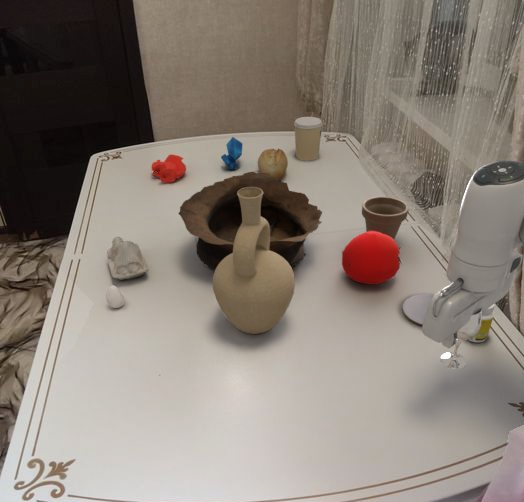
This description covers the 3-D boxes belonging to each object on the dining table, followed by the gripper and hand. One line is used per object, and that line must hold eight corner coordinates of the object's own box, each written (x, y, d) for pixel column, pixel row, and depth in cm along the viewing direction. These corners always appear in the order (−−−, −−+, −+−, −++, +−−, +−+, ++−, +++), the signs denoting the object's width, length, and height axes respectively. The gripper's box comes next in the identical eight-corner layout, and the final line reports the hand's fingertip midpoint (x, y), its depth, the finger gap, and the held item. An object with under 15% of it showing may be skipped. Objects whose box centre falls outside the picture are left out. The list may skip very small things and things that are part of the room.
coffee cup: (326, 158, 187) (328, 122, 179) (303, 163, 184) (304, 127, 176) (310, 149, 193) (312, 114, 186) (288, 155, 190) (288, 119, 182)
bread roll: (285, 165, 183) (285, 141, 178) (289, 184, 172) (289, 159, 167) (257, 166, 183) (256, 142, 178) (259, 185, 171) (258, 160, 166)
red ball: (345, 297, 129) (396, 289, 132) (363, 275, 117) (418, 266, 120) (331, 250, 133) (381, 242, 135) (347, 223, 121) (401, 215, 123)
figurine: (112, 255, 141) (106, 226, 135) (156, 254, 141) (152, 225, 135) (100, 287, 129) (92, 257, 124) (148, 286, 129) (142, 256, 124)
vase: (283, 354, 110) (284, 217, 90) (205, 341, 113) (190, 207, 94) (301, 306, 122) (305, 177, 102) (230, 296, 125) (221, 169, 106)
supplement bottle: (488, 332, 113) (499, 299, 108) (484, 345, 110) (494, 312, 105) (465, 326, 115) (474, 293, 110) (460, 338, 112) (469, 305, 107)
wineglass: (469, 374, 95) (484, 319, 87) (435, 368, 97) (447, 313, 89) (470, 353, 99) (486, 299, 91) (438, 347, 101) (450, 294, 93)
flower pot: (387, 227, 149) (392, 192, 142) (411, 245, 141) (418, 209, 134) (350, 235, 146) (353, 200, 139) (373, 255, 138) (378, 219, 131)
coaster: (452, 296, 123) (453, 294, 123) (463, 329, 114) (464, 327, 114) (399, 295, 124) (399, 293, 124) (405, 327, 115) (406, 325, 115)
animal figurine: (188, 164, 186) (186, 149, 182) (186, 182, 174) (185, 167, 171) (154, 166, 185) (152, 151, 182) (150, 184, 174) (148, 168, 170)
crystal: (220, 153, 174) (219, 132, 181) (222, 176, 181) (221, 155, 188) (243, 152, 174) (241, 131, 181) (244, 175, 181) (242, 154, 188)
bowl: (318, 229, 152) (326, 179, 142) (311, 303, 128) (320, 250, 118) (197, 214, 154) (196, 164, 143) (168, 285, 130) (164, 231, 119)
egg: (117, 299, 125) (112, 279, 122) (128, 304, 124) (124, 284, 120) (105, 307, 123) (99, 287, 120) (116, 312, 121) (111, 292, 118)
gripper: (455, 303, 79) (438, 373, 87) (529, 252, 88) (507, 320, 97) (419, 285, 82) (407, 354, 91) (494, 238, 92) (476, 305, 101)
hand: (459, 336), depth 94 cm, fingers closed on wineglass, 5 cm apart
